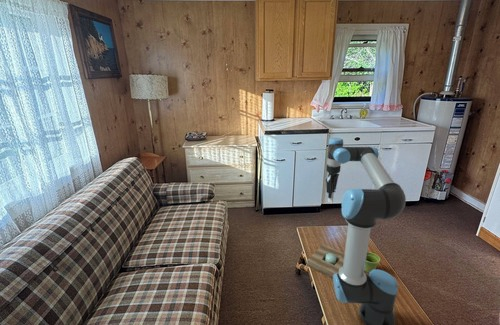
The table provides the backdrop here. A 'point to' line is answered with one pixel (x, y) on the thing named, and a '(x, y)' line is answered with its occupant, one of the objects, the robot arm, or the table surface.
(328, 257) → the pale mint egg
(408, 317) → the table surface
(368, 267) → the plant pot
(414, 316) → the table surface
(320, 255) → the dock
